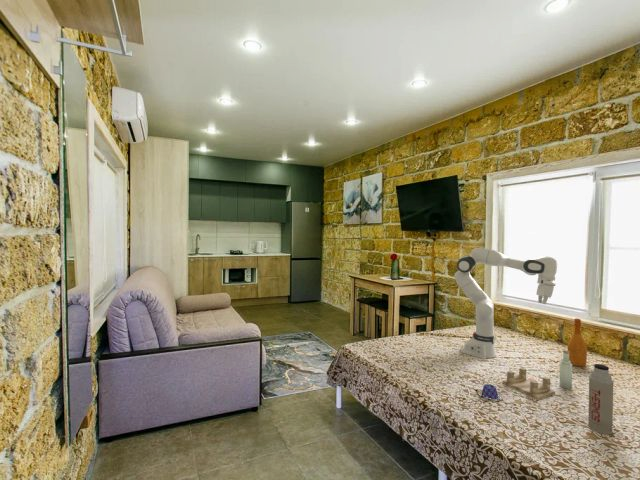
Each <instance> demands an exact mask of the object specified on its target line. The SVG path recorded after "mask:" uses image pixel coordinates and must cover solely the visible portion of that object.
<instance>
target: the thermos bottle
mask: <svg viewBox="0 0 640 480" xmlns="http://www.w3.org/2000/svg"><path fill="white" fill-rule="evenodd" d="M609 369H610V368H609V366H607V365H604V364H600V363H594V364H593V370H591V372H590V375H589V376H588V381H589V382H588V421H587V422H588V425H587V426H588V427H589V428H590V429H591V430H592V429H593V430H592V431H594V430H595V431H594V432H596V431H597V433H600V434H602V433H603V435H612V434H613V427H614V426H613V423H614V422H613V421H614V380H613V378H612V374H610V371H609Z"/></svg>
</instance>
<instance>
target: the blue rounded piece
mask: <svg viewBox="0 0 640 480" xmlns="http://www.w3.org/2000/svg"><path fill="white" fill-rule="evenodd" d="M481 389H482V395H484V396H485V397H488V398H491V400H492V401H495V402H496V401H501V400H503V398H504V397H503V395H502V394H501V393H499V392H498V391H497V387H496V386H495V385H493V384H489V383H487V384H484V385H483V387H482V388H481ZM498 395H499V396H500V397H501V399H500V400H497V399H498V397H499V396H498ZM484 396H483V397H484ZM488 398H487V399H488Z"/></svg>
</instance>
